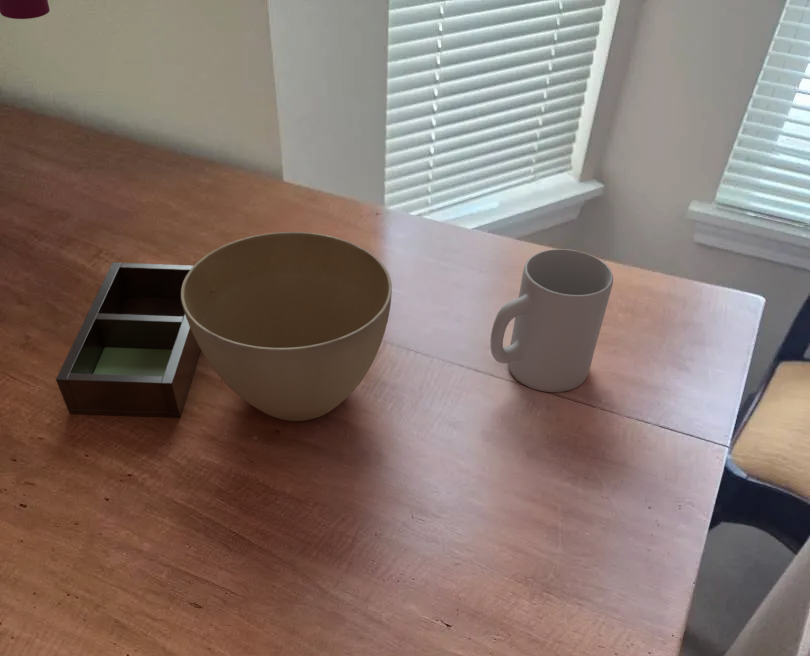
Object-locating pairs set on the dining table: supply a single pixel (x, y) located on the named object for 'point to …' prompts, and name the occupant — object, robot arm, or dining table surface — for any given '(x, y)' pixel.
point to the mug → (554, 320)
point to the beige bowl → (289, 319)
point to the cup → (24, 8)
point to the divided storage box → (132, 346)
